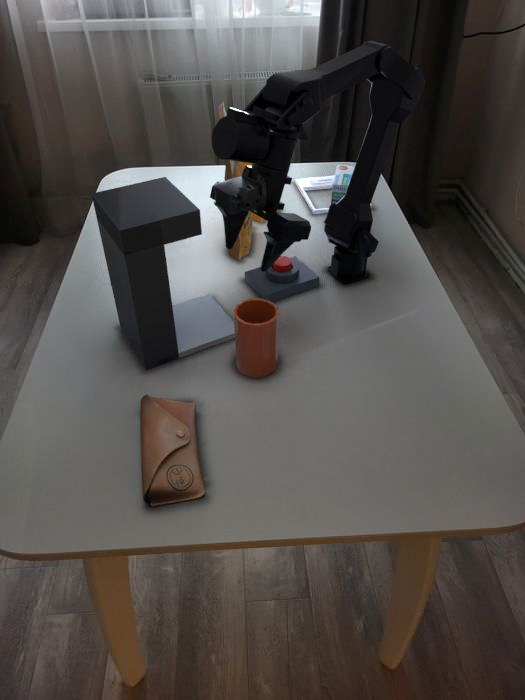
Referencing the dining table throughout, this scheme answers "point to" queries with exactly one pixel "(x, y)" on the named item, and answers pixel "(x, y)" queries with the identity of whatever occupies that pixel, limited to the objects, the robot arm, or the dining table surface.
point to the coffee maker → (154, 271)
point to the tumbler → (256, 337)
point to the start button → (282, 264)
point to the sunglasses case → (169, 452)
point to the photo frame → (314, 184)
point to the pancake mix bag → (244, 238)
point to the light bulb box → (341, 182)
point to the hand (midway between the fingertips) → (245, 259)
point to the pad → (282, 281)
